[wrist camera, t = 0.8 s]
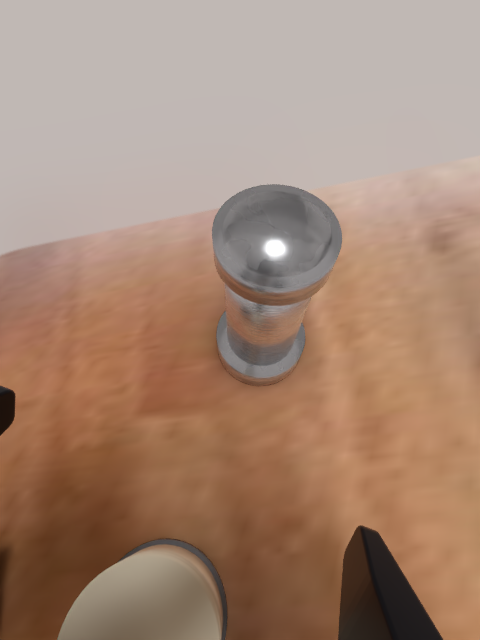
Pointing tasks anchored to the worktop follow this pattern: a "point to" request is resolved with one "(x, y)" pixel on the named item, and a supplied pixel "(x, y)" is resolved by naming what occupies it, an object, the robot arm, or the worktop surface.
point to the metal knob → (270, 276)
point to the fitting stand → (152, 598)
